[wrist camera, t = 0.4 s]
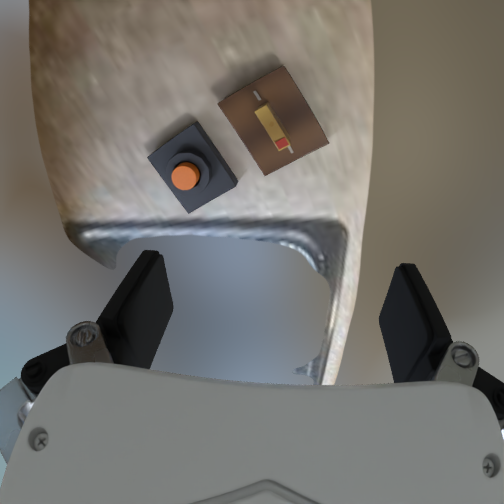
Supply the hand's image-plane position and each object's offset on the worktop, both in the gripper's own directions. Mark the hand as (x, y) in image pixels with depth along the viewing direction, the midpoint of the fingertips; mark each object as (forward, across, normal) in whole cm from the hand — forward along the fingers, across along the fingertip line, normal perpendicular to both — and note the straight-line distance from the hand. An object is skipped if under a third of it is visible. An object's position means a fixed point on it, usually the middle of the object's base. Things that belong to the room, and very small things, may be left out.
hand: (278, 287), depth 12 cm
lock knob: (+30, +1, -2) cm, 30 cm away
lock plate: (+33, +1, -2) cm, 33 cm away
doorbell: (+33, +13, +5) cm, 36 cm away
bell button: (+30, +13, +5) cm, 33 cm away
